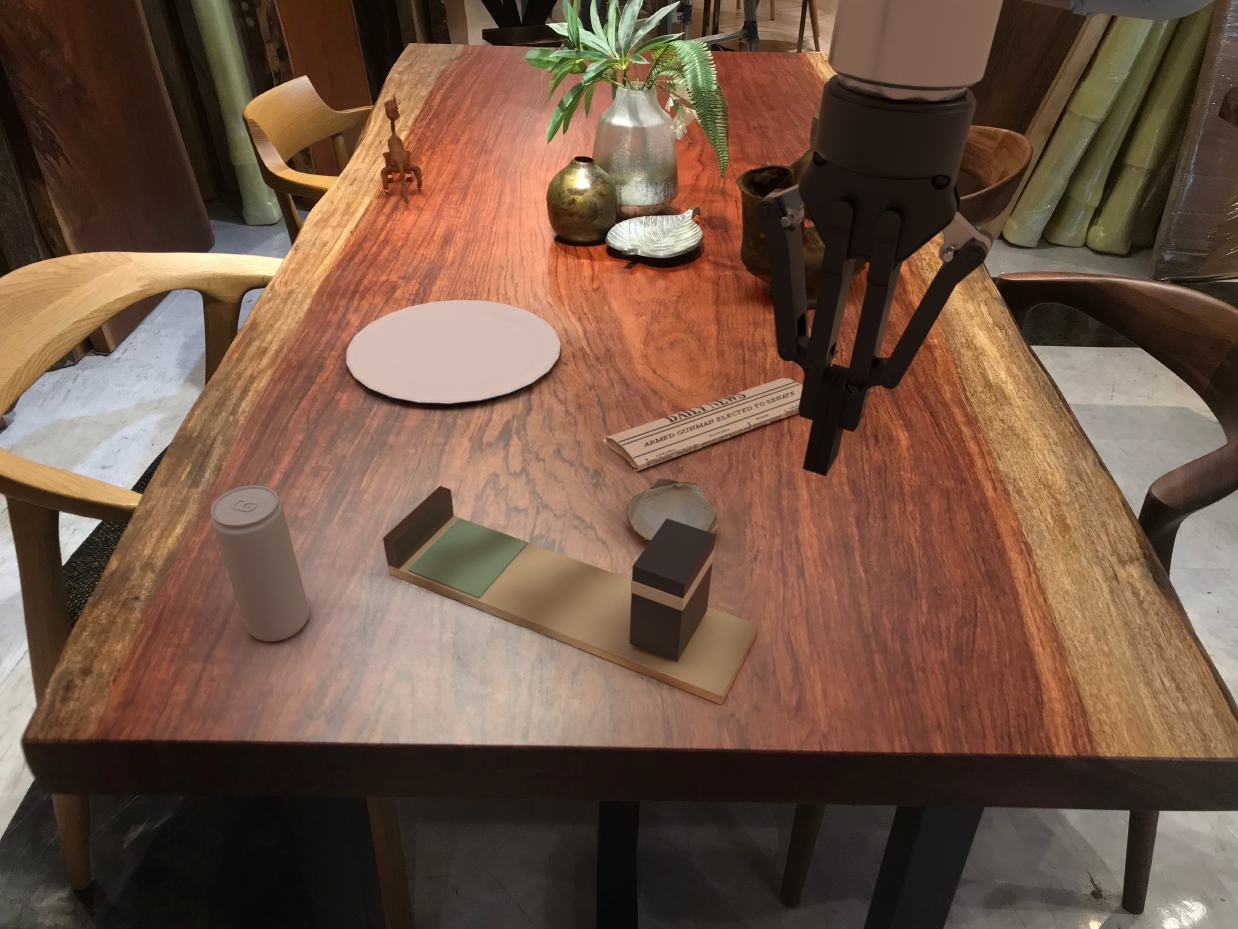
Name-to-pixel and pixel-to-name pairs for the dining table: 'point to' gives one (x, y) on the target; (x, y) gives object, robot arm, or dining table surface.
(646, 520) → the seashell
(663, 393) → the dining table surface
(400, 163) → the brown legged figure
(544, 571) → the rail
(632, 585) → the dark grey lidded box
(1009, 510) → the dining table surface
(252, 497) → the beverage can
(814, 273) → the pottery vessel
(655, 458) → the newspaper
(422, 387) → the plate
